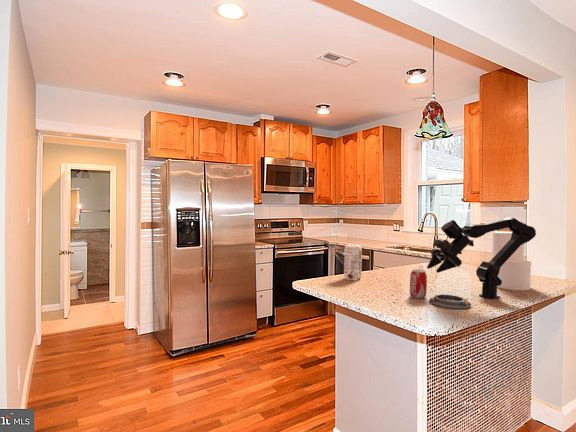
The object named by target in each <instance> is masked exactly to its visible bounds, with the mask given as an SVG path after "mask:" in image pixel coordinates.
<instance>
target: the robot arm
mask: <svg viewBox="0 0 576 432" xmlns="http://www.w3.org/2000/svg"><path fill="white" fill-rule="evenodd" d="M507 228H508V229H509V231H510V232H512V235H511V239H510V240H509V241H508V242H507V243H506V244H505V246H504V247H503V248H502V249H501V250H500V251H499V252H498V253H497V254H496V255H495V256H494V257H493V259H492V258H491V260H490V261H482V262H481V263H480V265H479V266H477V269H476V270H475V273H476V276H477V278H478V280H479V282H480V283H482V288H481V294H478V296H479V297H483V298H486V299H491V300H495V299H499V298H501V296H500V295H498V287H497V286H500V285H501V283H502V280H501V279H500V278H499V277H498V274H499V271H500V267H501V266H502V265H503V264H504V263H505V262H506V261H507V260H508V259H509V258H510V256H511V255H512V254H513V253H514V252H515V251H516V250H517V249H518V248H519V247H520V246H521V245H522V244H524V245H525V244H526V243H528V242H530V241H532V240H533V239H534V238H535V237H536V236H537V231H536V228H535V227H534V226H531V225H528V224H526V223H524V222H523V221H522V222H521V221H519V219H516V218H514V217H505V218H503V219H498V220H493V221H490V222H486V223H477V224H476V223H475V224H466V225H464V226H463V227H461V226H459V224H458V223H457V222H456V221H455V220H453V219H451V220H450V221H448V222H446V223H444V224H443V225H442V226H441V231H442V232H443V233H444V234H445V235H446V236H447V238H448V239H450V240H451V239H453V240H452V241H449V240H446V239H443V240H440V239H437V238H435V239H434V241H433V243H432V246H433V247H436V248H433V249H431V250H430V255H431V259H430V261H429V262H428V265H427V266H426V268H427V270H430V269H432V268H434V267H436V266H438V265H439V264H440V265H439V266H438V267H437V269H436V273H438V274H439V273H441V272H445V271H446V270H451V269H454V268H457V267H460V266H461V265H462V264H463V263H462V262H463V260H461V258H460V257H459V256H458V255H462V254H463V252H462V251H464V249H465V248H466V247H467V246H469V247H474V245H475V244H474V240H473V239H478V238H480V237H482V236H484V235H486V234H487V233H491V232H496V231H498V230H505V229H507ZM470 238H472V239H470Z"/></svg>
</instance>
